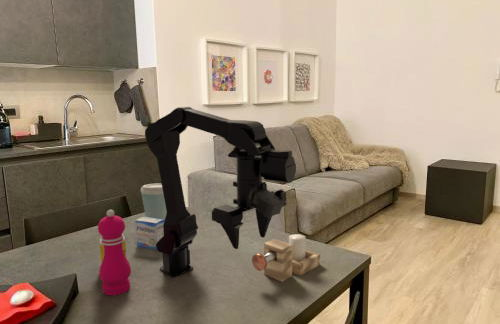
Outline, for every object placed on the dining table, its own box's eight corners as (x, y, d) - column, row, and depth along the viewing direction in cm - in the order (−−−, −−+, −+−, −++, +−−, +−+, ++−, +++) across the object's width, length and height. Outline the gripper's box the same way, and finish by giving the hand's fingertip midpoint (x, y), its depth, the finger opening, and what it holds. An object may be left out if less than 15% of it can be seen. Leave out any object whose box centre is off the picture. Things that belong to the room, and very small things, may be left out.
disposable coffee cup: (142, 221, 142) (140, 181, 139) (172, 219, 145) (170, 179, 142) (142, 231, 132) (139, 189, 129) (174, 228, 135) (172, 186, 132)
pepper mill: (122, 298, 90) (116, 215, 86) (94, 295, 91) (86, 213, 87) (137, 283, 97) (132, 206, 93) (111, 280, 98) (104, 204, 94)
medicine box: (136, 247, 119) (134, 220, 117) (145, 242, 123) (143, 215, 122) (157, 250, 116) (156, 223, 115) (166, 245, 120) (164, 218, 119)
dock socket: (286, 283, 95) (286, 251, 94) (260, 272, 101) (260, 241, 100) (320, 264, 105) (320, 235, 104) (294, 255, 111) (294, 227, 110)
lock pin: (264, 273, 92) (263, 257, 92) (252, 268, 95) (251, 252, 94) (286, 261, 98) (286, 246, 98) (274, 257, 101) (274, 242, 100)
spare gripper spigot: (298, 270, 102) (298, 241, 101) (285, 265, 105) (285, 237, 104) (308, 264, 105) (308, 237, 104) (295, 260, 108) (295, 233, 107)
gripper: (247, 191, 76) (247, 266, 78) (302, 175, 89) (301, 240, 92) (209, 182, 83) (210, 251, 86) (265, 169, 96) (265, 228, 99)
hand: (249, 242), depth 91 cm, fingers open, 9 cm apart
